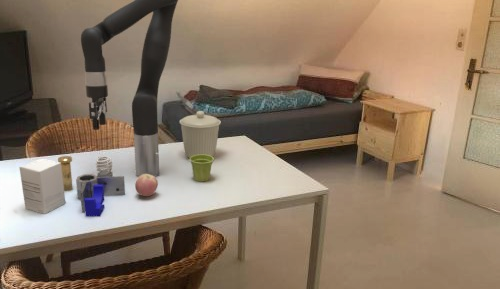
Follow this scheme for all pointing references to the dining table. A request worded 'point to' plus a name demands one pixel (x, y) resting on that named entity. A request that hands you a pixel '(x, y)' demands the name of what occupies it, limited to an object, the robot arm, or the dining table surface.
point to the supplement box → (42, 185)
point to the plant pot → (201, 166)
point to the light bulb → (104, 166)
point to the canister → (200, 134)
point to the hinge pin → (66, 172)
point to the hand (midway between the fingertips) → (99, 127)
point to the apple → (146, 184)
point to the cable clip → (95, 202)
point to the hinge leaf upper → (103, 183)
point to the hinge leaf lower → (84, 195)
